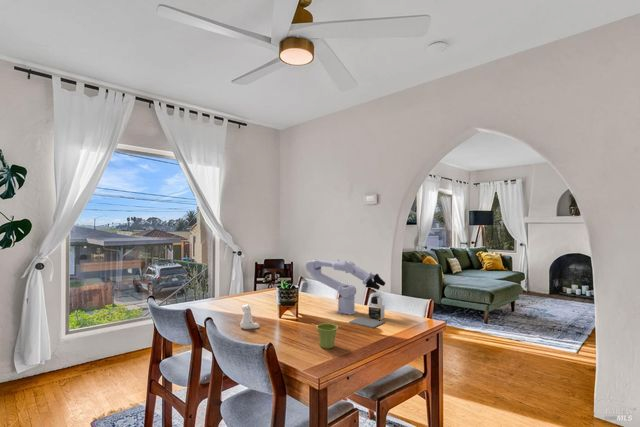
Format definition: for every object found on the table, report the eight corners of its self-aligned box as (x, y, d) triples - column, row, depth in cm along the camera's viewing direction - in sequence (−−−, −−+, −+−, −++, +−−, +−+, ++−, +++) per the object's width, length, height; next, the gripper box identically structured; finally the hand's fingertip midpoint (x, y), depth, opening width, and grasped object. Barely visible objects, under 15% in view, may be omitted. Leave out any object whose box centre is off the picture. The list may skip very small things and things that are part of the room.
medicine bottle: (368, 319, 195) (368, 297, 195) (372, 315, 201) (372, 295, 201) (380, 320, 192) (380, 299, 192) (384, 317, 198) (384, 296, 198)
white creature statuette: (260, 327, 179) (260, 304, 179) (245, 331, 173) (245, 307, 173) (251, 323, 186) (251, 301, 186) (236, 326, 180) (236, 303, 180)
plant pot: (336, 342, 158) (336, 323, 158) (338, 350, 149) (338, 329, 149) (316, 342, 158) (316, 323, 158) (316, 350, 148) (316, 330, 148)
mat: (348, 322, 188) (348, 321, 188) (360, 317, 197) (360, 316, 197) (373, 328, 178) (373, 327, 178) (384, 322, 188) (384, 321, 188)
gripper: (358, 271, 197) (379, 283, 191) (369, 265, 209) (389, 276, 203) (354, 282, 199) (374, 294, 193) (365, 275, 211) (385, 287, 205)
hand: (382, 286), depth 198 cm, fingers open, 7 cm apart
